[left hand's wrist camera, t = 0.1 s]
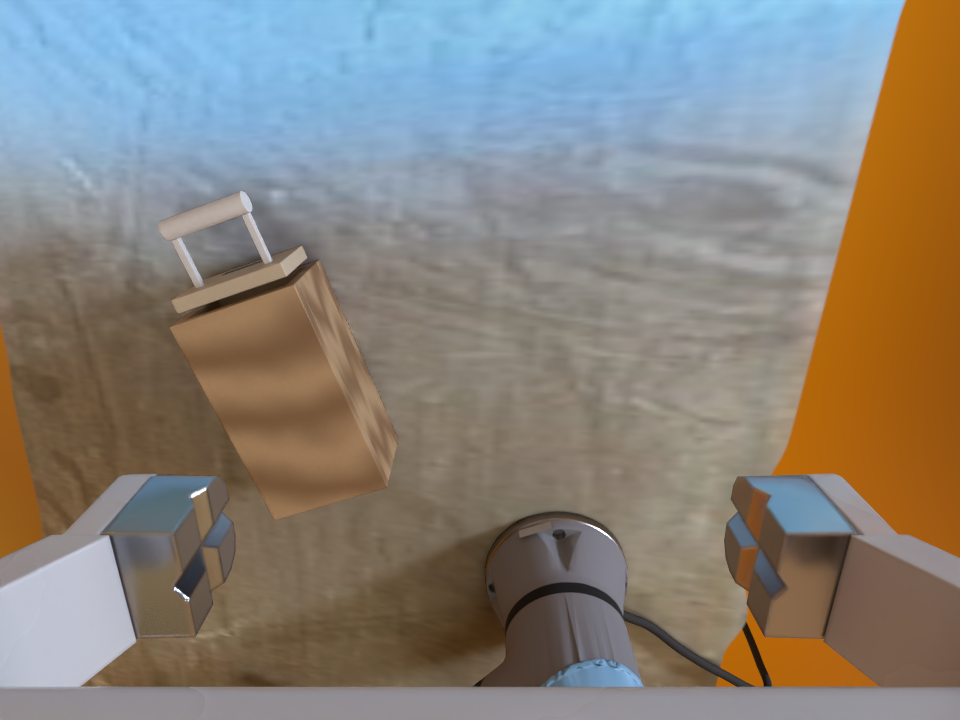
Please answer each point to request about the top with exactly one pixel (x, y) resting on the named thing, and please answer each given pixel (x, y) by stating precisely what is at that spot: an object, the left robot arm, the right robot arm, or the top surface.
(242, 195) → the drawer
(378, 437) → the wooden box
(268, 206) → the top surface
